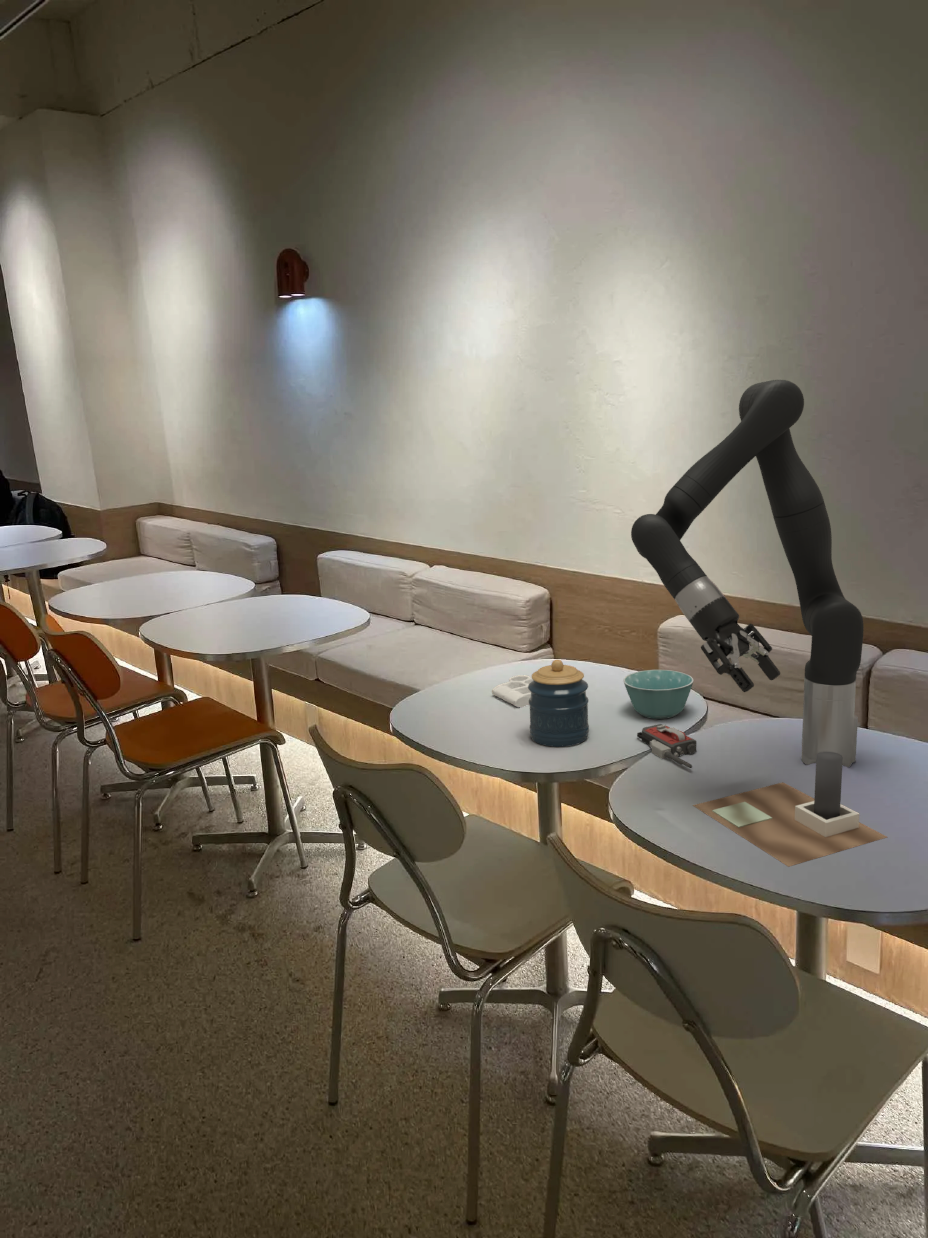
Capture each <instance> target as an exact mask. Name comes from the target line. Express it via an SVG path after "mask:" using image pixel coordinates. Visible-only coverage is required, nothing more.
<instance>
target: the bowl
mask: <svg viewBox="0 0 928 1238" xmlns="http://www.w3.org/2000/svg"><path fill="white" fill-rule="evenodd" d="M623 684H624V687H625V690H626V693H627V695H628V697H629V700H630V702H631V704H632V707H633V708H634V711H636V712H637V713H638V714H640V715H641V716H642V717H644V718H647V719H655V720H664V719H665V720H666V719H670V718H673V717H676V716H677V715H678V714H680V713H681V712H682V711H683V710H684V708H685V706H686V704H687V700H688V698H689V695H690V693H691V690H692V687H693V684H694V678H693V677H692V676H691V675H689V674H687V673H685V672H682V671H676V670H670V669H648V670H640V671H636V672H633V673H629V674H627V675H626V676H625V677H624V678H623Z"/></svg>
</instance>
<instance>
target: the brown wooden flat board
mask: <svg viewBox="0 0 928 1238" xmlns="http://www.w3.org/2000/svg"><path fill="white" fill-rule="evenodd" d="M812 801H814V797H812V796H810V795H808V794H806V793H805V792H802V791H801V790H798V789H796V788H795V787H793V786H791V785H789V784H787V783H785V782H778V783H774V784H770V785H766V786H762V787H759V788H756V789H751V790H747V791H743V792H740V793H735V794H732V795H728V796H724V797H720V798H715V799H711V800H708V801H703V802H699V803H697V804H693V805H692V806H693V807H694V808H695V809H697V810H699V811H701V812H702V813H703V814H705V815H707V816H709V818H711V819H713V820H715V821H717V822H718V823H719V824H721V825H722V826H724V827H725V828H727V829H728V830H730V831H732V833H735V834H737V835H738V836H740V838H742V839H744V840H746V841H747V842H749V843H751V844H753V845H754V846H755V847H757V848H758V849H760V850H761V851H763V852H765V853H766V854H768V855H769V856H770V857H773V859H776V860H777V861H779V862H780V863H782V864H783V865H785V866H786V867H788V868H789V867H792V866H796V865H799V864H803V863H805V862H809V861H813V860H816V859H820V858H823V857H826V856H829V855H833V854H836V853H837V854H838V853H839V852H843V851H846V850H850V849H852V848H857V847H861V846H863V845H866V844H870V843H873V842H876V841H877V842H878V841H880V840H884V839H886V838H888V836H886V835H885V834H882V833H880V832H879V831H877V830H875V829H873V828H871V827H870V826H868V825H865V824H864V823H862V822H860V821H859V828H855V829H852V830H849V831H845V832H842V833H838V834H835V835H831V836H828V837H824V836H823V835H821V834H819V833H817V832H816V831H814V830H812V829H810V828H809V827H807V826H805V825H803V824H801V823H800V822H798V821H796V820H795V806H797V805H801V804H804V803H808V802H812Z"/></svg>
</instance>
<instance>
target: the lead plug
mask: <svg viewBox="0 0 928 1238" xmlns="http://www.w3.org/2000/svg"><path fill="white" fill-rule="evenodd" d="M842 763H843V757H842V755H840V754H838V753H835V752H819V753H817V754H816V763H815V777H814V780H815V781H814V797H813V798H814V813H815V814H816V815H818V816H820V817H822V818H824V819H826V820H828V819H831V818H835V817H838V816H840V804H841V799H842V780H843V778H842V777H843V765H842Z"/></svg>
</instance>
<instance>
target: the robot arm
mask: <svg viewBox="0 0 928 1238" xmlns="http://www.w3.org/2000/svg"><path fill="white" fill-rule="evenodd" d="M804 406H805V398H804V394H803V392H802V390H801V388H800V387H799V386H798V385H797V384H795V383H794V382H792V381H790V380H786V379H771V380H766V381H762V382H756V383H754V384H752V385H750V386H749V387H748V388H746V389H745V390H744V392H743V393H742V395H741V396H740V400H739V403H738V416H739V418H740V422H739V423H738V424H737V426H736V427H735V428H734V429H733V430H732V431H731V432H730V433H729V434H728V435H727V436H726V437H725V438H724V439H722V440H721V442H719V443H718V444H717V445H715V447H713V448H712V449H711V450H709V451H708V452H707V453H705V454H704V455H703V456H702V457H701V458H700V459H698V460H696V461H695V463H694V464H692V465H691V466H690V468H688V470H687V471H686V472H685V473H683V475H682V476H681V477H680V478H679V479H678V480H677V482H676V483H675V484H674V485H673V486H672V487H671V488H670V489H669V490H668V491H667V493H666V495H665V496H664V500H663V503H662V506H661V508H660V509H659V510H658V511H657V512H656V514H655V513H648V514H643V515H640V516H639V517H638V518H637V519H635V521H634V523H633V524H632V526H631V530H630V536H631V540H632V543H633V545H634V547H635V549H636V551H637V552H638V554H639V555H640V556H641V557H642V558H643V559H645V560H646V561H647V562H648V563H649V564H650V565H651V567H652V569H654V571H655V572H656V573H657V575H658V577H659V579H660V581H661V583H662V585H663V586H664V588H665V589H666V590H667V592H668V593H669V594H670V596H671V597H672V598H673V599H674V601H675V603H676V604H677V606H678V608H679V609H680V611H681V613H682V614H683V616H684V617H685V618H686V620H687V621H688V622H689V623H690V625H691V626H692V628H693V629H694V631H696V633H697V634H698V636H699V637H700V638H701V639H702V641H705V642H704V643H703V644H702V645H700V650H701V651H702V653H703V654H704V655H705V657H706V658H707V659H708V661H709V662H710V664H711V666H712V667H713V668H714V670H715V671H716V673H717V674H718V675H720V676H721V675H724V674H726V675H727V676H730V677H731V678H732V680H733V681H734V682H735V684H736V685H737V686H738V688H739V689H740V690H741V691H742V693H747V692H749V691H750V690H752V688H754V686H755V684H754V682H753V681H752V679H751V678H750V677H749V675H748V674H747V673H746V671H745V670H744V669H743V667H741V665H740V661H739V657H743V658H745V659H748V658H749V659H751V661H752V660H753V661H754V662H756V663H757V665H758V667H759V668H760V670H761V671H762V672H763V673H764V674H765V676H766V677H767V679H768V680H769V681H774V680H775V679H777V677H779V676H781V671H780V669H778V667H777V666H776V664H775V663H774V662H773V660H772V659H771V658H770V657H769V655H770V652H771V651H772V650H773V647H772V645H770V644H769V642H768V641H767V640H766V638H764V636H763V635H762V634H761V633H760V631H759V630H758V629H757V628H756V627H755V625H754V624H752V623H749V624H748V625H746V626H745V627H742V626H740V624H739V623H738V620H740V619H739V618H740V614H739V613H738V612H737V610H736V608H734V607H733V605H732V604H731V603H730V601H729V599H727V597H726V596H725V595H724V594H723V592H722V591H721V590H720V589H719V587H718V586H717V585H716V584H715V583H714V581H712V580H711V579H710V578H709V576H708V575H707V574H706V573H705V571H704V570H703V568H702V567H701V566H700V565H699V563H698V562H697V561H696V560H695V559H694V558H693V556H691V554H690V553H689V551H688V550H687V549H686V547H685V546H684V544H683V543H682V541H681V540H682V539H683V537H684V535H685V534H686V533H687V531H688V530H689V528H690V526H691V525H692V524H693V522H694V521H695V520H696V518H697V517H699V516H700V515H701V513H702V512H704V511H705V509H706V508H707V507H708V506H709V505H710V504H711V502H712V501H714V500H715V498H716V497H717V496H718V495H719V494H720V493H721V492H722V491H723V489H725V487H726V486H727V485H728V484H729V483H730V482H731V481H732V480H733V479H734V478H735V477H736V475H737V474H739V473H740V472H741V470H742V469H744V467H746V465H747V464H749V463H750V462H751V461H752V460H753V459H754V458H756V461H757V463H758V466H759V470H760V474H761V478H762V482H763V485H764V489H765V492H766V495H767V499H768V502H769V506H770V509H771V510H770V511H771V513H772V517H773V521H774V524H775V528H776V530H777V533H778V537H779V538H780V542H781V545H782V547H783V550H784V553H785V557H786V558H787V562H788V564H789V566H790V569H791V571H792V574H793V577H794V581H795V584H796V585H795V586H796V590H797V591H796V592H797V596H798V602H799V608H800V613H801V620H802V622H803V625H804V627H805V629H806V631H807V632H808V634H809V635H811V646H810V658H809V660H807V662H806V663H805V665H804V682H803V683H804V684H803V706H802V707H803V709H802V710H803V711H802V729H801V730H802V732H801V733H802V734H801V757H800V758H801V762H802V763H803V764H805V765H806V766H809V765H812V764H813V765H814V764H816V754H817V753H819V752H835V753H838V754H840V755H842V757H843V763H842V766H844V767H846V768H850V767H851V766H852V763H856V759H857V758H856V757H857V742H858V739H857V738H858V723H859V721H858V720H859V717H858V715H856V714H855V705H856V704H855V703H856V685H857V683H856V682H857V673H858V671H859V669H860V665H861V664H862V663H861V662H862V653H863V642H864V627H865V626H864V618H863V615H862V612H861V611H860V609H859V608H858V607H857V606H856V605H854V603H852V602H850V601H849V600H847V599H846V598H845V596H844V594H843V591H842V588H841V587H840V583H839V581H838V579H837V575H836V573H835V570H834V566H833V560H832V559H833V558H832V550H833V549H832V548H833V547H832V542H833V541H832V525H831V522H830V517H829V514H828V510H827V506H826V504H825V499H824V496H823V494H822V491H821V490H820V487H819V486H818V483H817V482H816V480H815V479H814V477H813V476H812V474H811V472H809V470H808V467H806V465H805V464H804V462H803V461H802V459H801V458H800V455H799V454H798V452H797V450H796V447H795V445H794V444H795V443H794V441H793V437H792V433H791V430H790V428H792V427H793V426H794V425H795V424H796V423H797V422H798V421H799V419H800V418H801V416H802V414H803V412H804ZM760 644H761V646H760ZM718 660H720V663H719V661H718Z"/></svg>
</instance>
